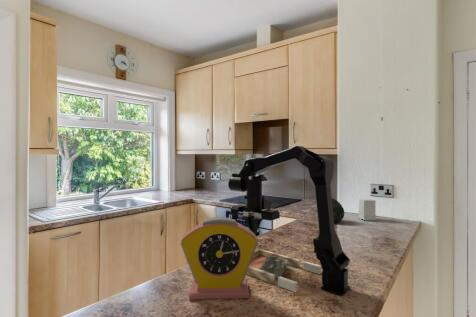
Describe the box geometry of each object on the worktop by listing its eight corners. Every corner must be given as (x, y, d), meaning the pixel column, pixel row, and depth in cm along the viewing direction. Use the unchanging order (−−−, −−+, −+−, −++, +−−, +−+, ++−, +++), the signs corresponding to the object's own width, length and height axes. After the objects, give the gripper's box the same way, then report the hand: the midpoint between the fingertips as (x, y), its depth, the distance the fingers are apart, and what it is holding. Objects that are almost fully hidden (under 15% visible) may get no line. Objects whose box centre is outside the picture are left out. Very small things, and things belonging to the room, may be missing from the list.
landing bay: (321, 273, 94) (321, 265, 94) (295, 292, 80) (295, 283, 80) (304, 268, 98) (304, 261, 98) (277, 285, 84) (278, 277, 84)
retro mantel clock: (179, 300, 76) (179, 222, 75) (183, 284, 85) (183, 215, 85) (258, 298, 77) (259, 221, 77) (255, 283, 86) (255, 214, 86)
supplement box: (375, 221, 168) (376, 200, 168) (363, 221, 168) (363, 200, 168) (370, 218, 176) (370, 198, 175) (358, 218, 176) (358, 198, 176)
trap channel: (299, 266, 99) (299, 259, 99) (272, 283, 86) (272, 275, 86) (258, 254, 111) (258, 248, 111) (229, 267, 98) (229, 260, 98)
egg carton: (269, 264, 102) (269, 253, 102) (289, 267, 99) (289, 256, 99) (258, 275, 92) (258, 263, 92) (280, 279, 89) (280, 267, 89)
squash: (324, 208, 180) (319, 192, 171) (348, 212, 171) (344, 196, 163) (318, 226, 171) (312, 210, 163) (342, 231, 163) (338, 215, 154)
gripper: (287, 192, 101) (287, 235, 101) (248, 188, 113) (248, 226, 113) (270, 196, 93) (270, 242, 93) (229, 191, 105) (229, 232, 105)
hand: (254, 235), depth 101 cm, fingers closed
